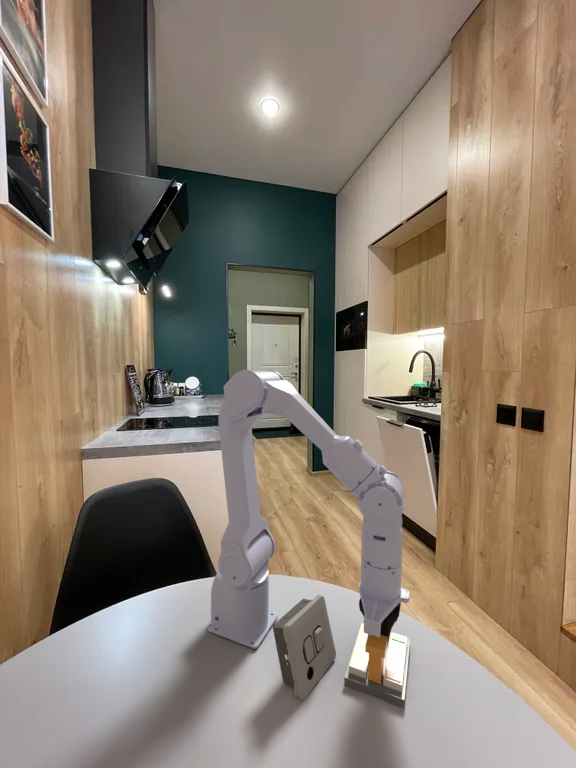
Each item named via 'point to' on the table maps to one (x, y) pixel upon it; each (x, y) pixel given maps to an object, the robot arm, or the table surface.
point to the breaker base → (393, 669)
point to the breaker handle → (376, 656)
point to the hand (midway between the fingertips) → (378, 647)
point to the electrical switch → (304, 644)
